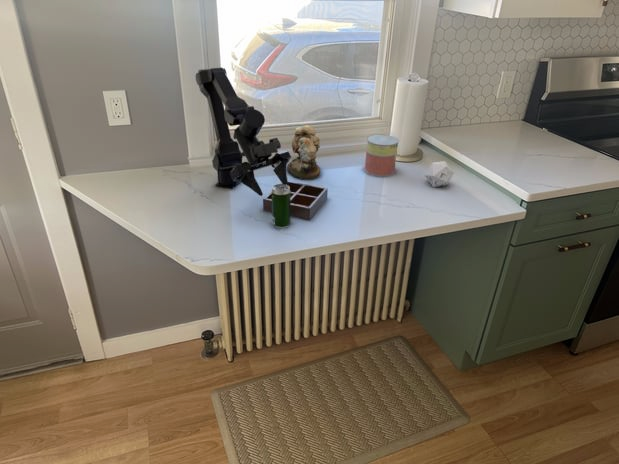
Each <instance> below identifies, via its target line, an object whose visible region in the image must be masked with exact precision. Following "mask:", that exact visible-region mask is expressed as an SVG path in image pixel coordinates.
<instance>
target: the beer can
mask: <svg viewBox="0 0 619 464" xmlns="http://www.w3.org/2000/svg"><path fill="white" fill-rule="evenodd" d="M271 191H272V212H271V224H272V226H273V227H274V228H276V229H280V230H281V229H282V230H283V229H287V228H289V226H290V224H291V216H290V187H289V186H288V185H285V184H280V183H277V184H274V185H273V186H272V187H271Z"/></svg>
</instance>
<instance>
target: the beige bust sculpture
mask: <svg viewBox="0 0 619 464" xmlns="http://www.w3.org/2000/svg"><path fill="white" fill-rule="evenodd" d="M320 147H321V146H320V136H319V135H318V134H317V133H316V130H315V128H314V127H313V126H311V125H307V124H306V125H302V126H298V127H296V128H295V129H294V137H293V139H292V140H291V149H292V152H293V153H294V154H297V157H296V158H294V159H292V160H291V161H289V162H288V163H287V166H286V170H287V172H288V173H289V175H291V176H292V177H293V178H296V179H299V180H300V179H301V180H305V181H306V180H307V181H309V180H310V181H311V180H315V179H318V178H319V177H320V176H321V168H320V166H319V165H318V164H317V161H316V159H317V153H318V152H319V149H320Z"/></svg>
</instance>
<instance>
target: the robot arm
mask: <svg viewBox="0 0 619 464" xmlns="http://www.w3.org/2000/svg"><path fill="white" fill-rule="evenodd" d="M195 82H196V84H197V85H198V88H199V91H200V93H201V94H202V95H203V96H205V98H206V100H207V104H208V108H209V112H210V117H211V120H212V124H213V128H214V133H215V137H216V145H215V148H214V156H213V158H212V160H211V162H212V167H213V169H214V170H215V171H216V172H217V183H215V186H216V187H219V188H226V189H231V190H233V189H234V188H235V187H237V186H238V185H239V184H240V183H241V184H242V185H245V186H246V187H248V188H249V189H250V190H251V191H253V192H254V193H255V194H257V196H259V197H263V195H264V193H263V191H262V188H261V187H260V185H259V182H258V181H257V179H256V177H255V172H254V171H257V170H260V169H263V168H267V167H272V168H273V170H272V171H273V172H274V174H275V175H276V177H277V178H278V180H279V181H280V183H281V182H282V184H285V185H288V182H287V181H288V177H287V166H288V164H289V163H290V160H291V159H292V155H291V154H290V152H289V151H288V150H282V151H278V150H279V149H281V148H282V144H281V142H280V140H279V138H278V137H273V138H270V139H268V143H265V142H264V141H263V140H260V139H259V137H258V134H259V133H260V131H261V130H262V128H263V126H264V124H265V121H266V119H265V118H266V117H265V116H264V114H263V112H261V111H259V110H257V109H255V107H254V105H251V106H250V105H249V104H248V103H247V101H246V99H244V98H241V97H239V96H238V94H237V92H236V89H235V88H234V86H233V84H232V83H231V81H230V78H229V77H228V75H227V70H226V68H225V67H211V68H204V69H203V68H201V69H198V70H197V72H196V73H195ZM229 126H230V127H233V126H236V128H235V129H234V130H233V135H231V131H230V127H229ZM232 136H233V138H232ZM240 149H241V150H240ZM273 154H274V155H273ZM244 157H245V159H246V160H247V161H244V162H243V158H244Z"/></svg>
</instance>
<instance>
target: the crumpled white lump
mask: <svg viewBox="0 0 619 464" xmlns="http://www.w3.org/2000/svg"><path fill="white" fill-rule="evenodd" d="M454 174H455V172H454V170H453V169H452V167H450V165H449V164H448V163H447V162H446V160H443V161H436V162H431V164H430V165H429V167H428V169H427V170H426V172H425V174H424V177H425V178H426V179H427V181H428V182H429V184H430V185H431V186H432V187H433V188H437V187H444V186H447V185H448V183H449V182H450V180H451V179H452V177H453V176H454Z"/></svg>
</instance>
